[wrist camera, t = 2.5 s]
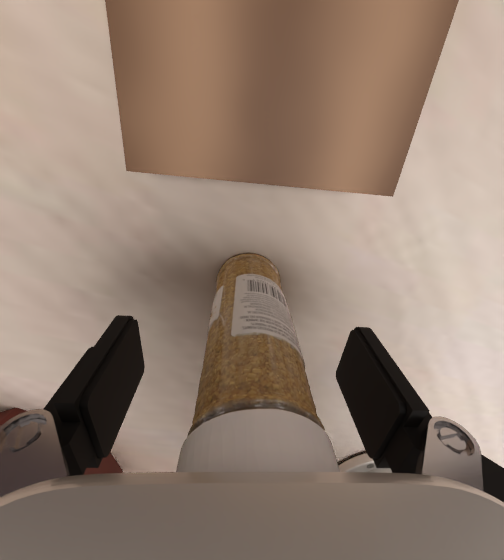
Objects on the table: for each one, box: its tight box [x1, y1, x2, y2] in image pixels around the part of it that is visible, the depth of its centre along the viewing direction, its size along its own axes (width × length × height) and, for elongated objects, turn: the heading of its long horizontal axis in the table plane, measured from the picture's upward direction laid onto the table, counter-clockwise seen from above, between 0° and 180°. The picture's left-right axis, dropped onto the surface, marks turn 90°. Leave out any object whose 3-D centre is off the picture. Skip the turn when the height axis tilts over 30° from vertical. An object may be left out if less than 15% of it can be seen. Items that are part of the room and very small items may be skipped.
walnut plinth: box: [105, 0, 459, 196], centre depth 10 cm, size 12×12×4 cm
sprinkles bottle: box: [176, 254, 340, 472], centre depth 12 cm, size 5×5×13 cm
